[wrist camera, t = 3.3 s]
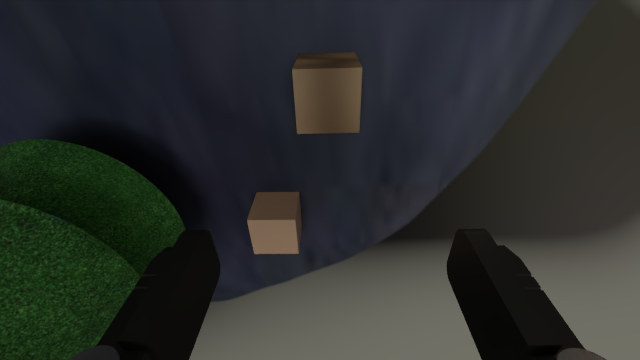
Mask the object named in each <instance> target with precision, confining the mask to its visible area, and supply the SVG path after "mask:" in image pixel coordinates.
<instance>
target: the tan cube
mask: <svg viewBox="0 0 640 360" xmlns="http://www.w3.org/2000/svg"><path fill="white" fill-rule="evenodd" d="M247 223H248V227H249V232H250V236H251V241H252V245H253V250H254V254H299V246H300V237H301V227H302V220H301V209H300V197H299V192H256V195H255V198H254V201H253V204H252V207H251V210H250V213H249V216H248V219H247Z"/></svg>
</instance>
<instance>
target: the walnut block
mask: <svg viewBox="0 0 640 360" xmlns="http://www.w3.org/2000/svg"><path fill="white" fill-rule="evenodd" d="M292 75H293V87H294V100H295V113H296V126H297V134H319V133H359V128H360V106H361V85H362V66H361V63H360V61H359V59H358V57H357V54H356V52H341V53H306V54H298V57H297V59H296V61H295V64H294V66H293V68H292Z"/></svg>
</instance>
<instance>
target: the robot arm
mask: <svg viewBox="0 0 640 360" xmlns="http://www.w3.org/2000/svg"><path fill="white" fill-rule="evenodd" d="M447 275H448V279H449V282H450V284H451V286H452V289H453V291H454V294H455V296H456V299H457V301H458V303H459V306H460V308H461V311H462V313H463V315H464V318H465V320H466V323H467V325H468V327H469V330H470V332H471V335H472V337H473V339H474V342H475V344H476V347H477V349H478V352H479V354H480V356H481V359H482V360H606V359H605V358H603V357H601V356H599V355H597V354H595V353H593V352H591V351H587V350H586V349H585V348H584V347H583V346H582V344H581V343H580V342H579V341H578V339H577V338H576V336H575V335H574V333H573V332H572V331H571V329H570V328H569V326H568V325H567V324H566V322H565V321H564V319H563V318H562V317H561V315H560V314H559V312H558V311H557V310H556V308H555V307H554V305H553V304H552V303H551V301H550V300H549V298H548V297H547V295H546V294H545V293H544V291H543V290H541V289H540V286H539V285H538V283H537V281H536V280H535V279H534V277H532V276H531V273H530V271H529V270H528V269H527V267H526V266H525V265H524V263H523V262H522V260H521V259H520V258H519V257H518V256H516V255H515V254H514V253H513V252H512V251H510V250H509V249H508V248H507V247H505V246H497V244H496V243H495V242H494V240H493V238H492V237H491V235H490V234H489V232H487V230H485V229H458V230H457V232H456V234H455V237H454V241H453V244H452V247H451V250H450V254H449V257H448V261H447ZM219 276H220V261H219V258H218V255H217V252H216V248H215V245H214V242H213V239H212V236H211V233H210V232H209V231H208V230H185V231H183V232H182V233H181V234H180V236H179V237H178V239H177V241H176V242H175V244H174V246H173V247H166V248H165V249H163V250H162V251H161V252H160V253H159V254H158V255H157V256H155V257H154V258H153V259H152V260H151V262H150V263H149V265H148V266H147V268H146V270H145V271H144V273H143V276H142V277H140V279H139V280H138V282H137V283H136V285H135V289H134V290H132V291H131V293H130V294H129V296H128V297H127V299H126V301H125V302H124V304H123V305H122V307H121V308H120V310H119V311H118V313H117V314H116V316H115V318H114V319H113V321H112V322H111V324H110V325H109V327H108V328H107V330H106V332H105V333H104V335H103V336H102V338H101V339H100V341H99V342H98V343H97V344H96V346H94V347H91V348H88V349H86V350H84V351H82V352H80V353H79V354H77V355H75V356H74V357H73V358H71V359H70V360H189V358H190V356H191V353H192V350H193V348H194V345H195V342H196V339H197V337H198V334H199V331H200V329H201V326H202V323H203V321H204V318H205V315H206V313H207V310H208V307H209V305H210V302H211V299H212V296H213V294H214V291H215V288H216V286H217V283H218V280H219Z"/></svg>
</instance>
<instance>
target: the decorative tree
mask: <svg viewBox="0 0 640 360" xmlns="http://www.w3.org/2000/svg"><path fill="white" fill-rule="evenodd" d="M185 230H186V229H185V226H184V224H183V221H182V219H181V217H180V216H179V214H178V212H177V211H176V209H175V208H174V206H173V205H172V203H171V202H170V201H169V200H168V199H167V197H166V196H165V195H164V194H163V193H162V192H161V191H160V190H159V189H158V188H157V187H156V186H155V185H153V184H152V183H151V182H150V181H149V180H147V179H146V178H145V177H144V176H143V175H141V174H140V173H139V172H137V171H135V170H134V169H132V168H130V167H129V166H127V165H125V164H124V163H122V162H120V161H118V160H116V159H114V158H112V157H110V156H108V155H106V154H103V153H101V152H98V151H96V150H93V149H90V148H87V147H84V146H80V145H77V144H73V143H68V142H63V141H56V140H45V139H32V140H22V141H17V142H13V143H9V144H6V145H4V146H2V147H0V360H70V359H71V358H73V357H74V356H75V355H77V354H79V353H80V352H82V351H84V350H86V349H88V348H91V347H94V346H96V344H97V343H98V342H99V341H100V339H101V338H102V336H103V335H104V333H105V332H106V330H107V328H108V327H109V325H110V324H111V322H112V321H113V319H114V318H115V316H116V314H117V313H118V311H119V310H120V308H121V307H122V305H123V304H124V302H125V301H126V299H127V297H128V296H129V294H130V293H131V291H132V290H134V289H135V285H136V283H137V282H138V280H139V279H140V277H142V276H143V273H144V271H145V270H146V268H147V266H148V265H149V263H150V262H151V260H152V259H153V258H154V257H155V256H157V255H158V254H159V253H160V252H161V251H162V250H163V249H165V248H166V247H173V246H174V244H175V242H176V241H177V239H178V237H179V236H180V234H181V233H182V232H183V231H185Z"/></svg>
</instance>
